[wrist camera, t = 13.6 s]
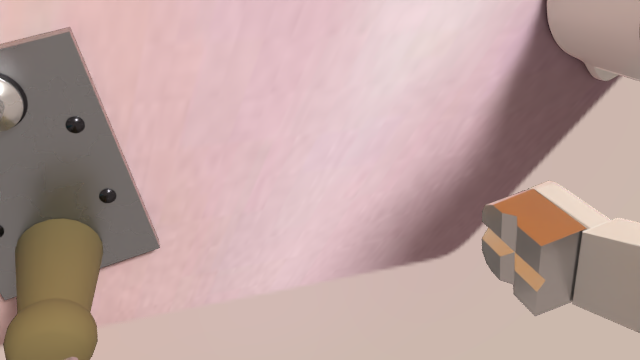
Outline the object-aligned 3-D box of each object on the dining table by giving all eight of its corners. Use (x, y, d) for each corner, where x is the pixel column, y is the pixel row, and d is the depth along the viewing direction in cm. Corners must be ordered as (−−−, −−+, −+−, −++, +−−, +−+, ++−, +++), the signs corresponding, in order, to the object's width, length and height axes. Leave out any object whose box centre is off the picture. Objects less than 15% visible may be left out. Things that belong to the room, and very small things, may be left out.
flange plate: (69, 27, 35) (69, 32, 34) (158, 239, 45) (160, 248, 44) (-134, 77, 33) (-142, 84, 32) (7, 290, 42) (4, 300, 41)
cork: (99, 283, 44) (99, 393, 35) (13, 283, 41) (-10, 401, 32) (107, 220, 41) (110, 320, 32) (16, 216, 39) (-8, 323, 30)
